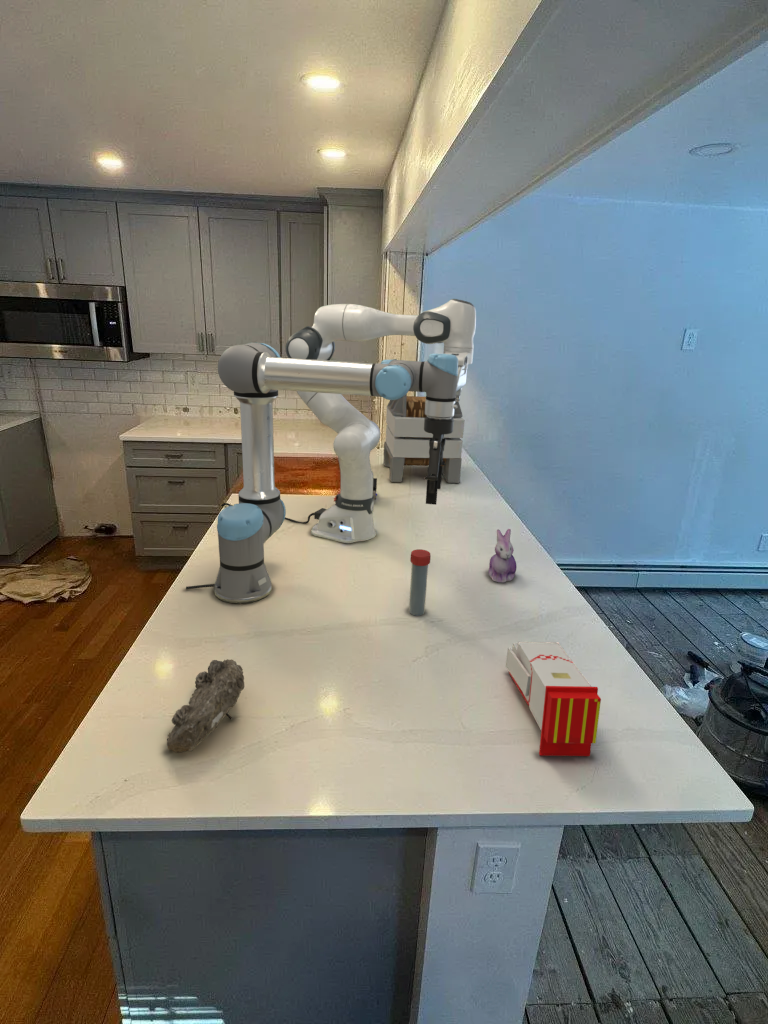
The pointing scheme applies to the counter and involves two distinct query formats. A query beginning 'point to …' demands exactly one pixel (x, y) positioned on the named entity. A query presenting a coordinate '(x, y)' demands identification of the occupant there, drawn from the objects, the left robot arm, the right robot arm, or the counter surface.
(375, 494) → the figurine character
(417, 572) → the bottle
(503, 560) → the figurine
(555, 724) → the toy
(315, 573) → the counter surface
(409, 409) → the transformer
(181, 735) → the fossil
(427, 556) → the lid
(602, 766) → the counter surface
